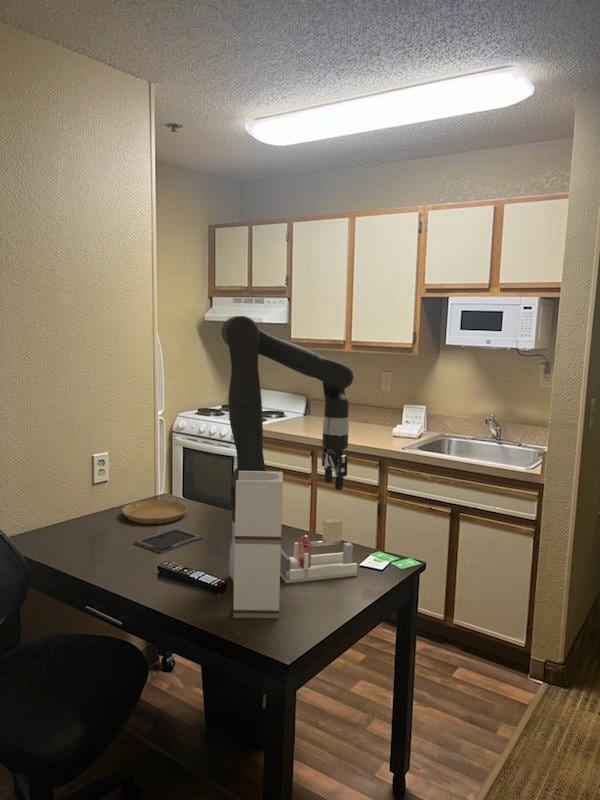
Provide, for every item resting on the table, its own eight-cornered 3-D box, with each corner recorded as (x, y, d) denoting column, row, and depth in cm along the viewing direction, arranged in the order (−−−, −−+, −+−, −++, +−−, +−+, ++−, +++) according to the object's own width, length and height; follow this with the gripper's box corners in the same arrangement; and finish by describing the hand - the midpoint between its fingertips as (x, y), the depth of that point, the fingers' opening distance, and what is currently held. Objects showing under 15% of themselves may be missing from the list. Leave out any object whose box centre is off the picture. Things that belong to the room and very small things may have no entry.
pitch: (286, 583, 174) (286, 556, 173) (276, 569, 183) (276, 544, 182) (356, 575, 181) (357, 549, 180) (343, 563, 190) (344, 538, 189)
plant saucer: (169, 503, 248) (169, 496, 247) (199, 519, 229) (199, 510, 229) (111, 514, 232) (111, 505, 232) (139, 531, 214) (139, 522, 214)
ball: (299, 558, 177) (304, 570, 178) (295, 553, 181) (299, 565, 182) (287, 565, 176) (292, 576, 177) (283, 560, 180) (288, 571, 181)
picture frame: (161, 555, 193) (202, 540, 208) (161, 549, 193) (202, 535, 207) (134, 545, 201) (175, 531, 215) (134, 539, 201) (175, 526, 215)
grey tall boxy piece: (278, 599, 163) (282, 471, 159) (278, 618, 153) (282, 481, 148) (236, 598, 163) (238, 470, 159) (233, 617, 152) (235, 480, 148)
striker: (302, 571, 178) (304, 525, 176) (297, 564, 182) (298, 520, 181) (341, 567, 182) (343, 522, 180) (335, 560, 186) (337, 517, 185)
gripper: (315, 428, 184) (313, 480, 186) (332, 436, 171) (330, 492, 173) (338, 427, 187) (336, 479, 189) (357, 435, 173) (354, 491, 175)
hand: (333, 485), depth 181 cm, fingers open, 8 cm apart
